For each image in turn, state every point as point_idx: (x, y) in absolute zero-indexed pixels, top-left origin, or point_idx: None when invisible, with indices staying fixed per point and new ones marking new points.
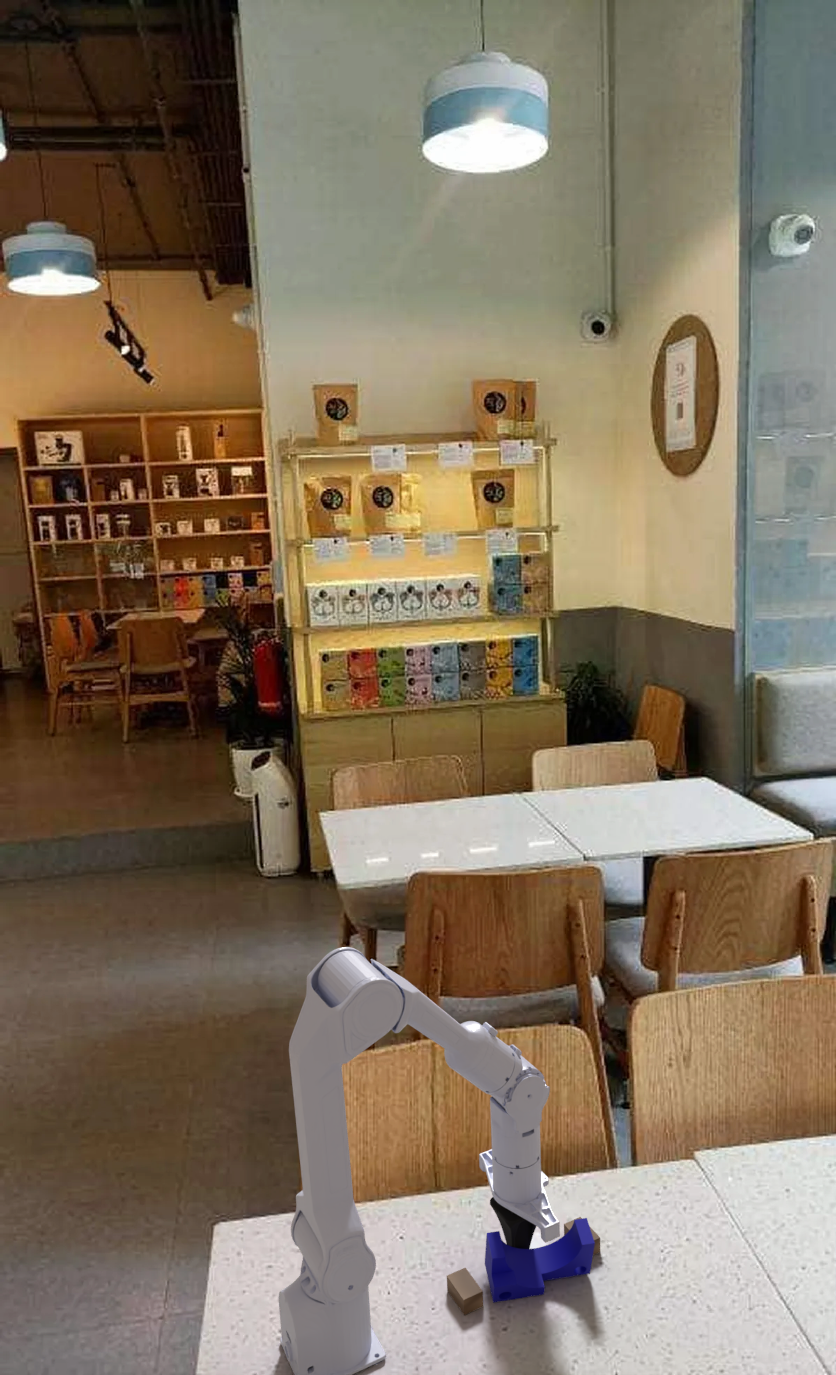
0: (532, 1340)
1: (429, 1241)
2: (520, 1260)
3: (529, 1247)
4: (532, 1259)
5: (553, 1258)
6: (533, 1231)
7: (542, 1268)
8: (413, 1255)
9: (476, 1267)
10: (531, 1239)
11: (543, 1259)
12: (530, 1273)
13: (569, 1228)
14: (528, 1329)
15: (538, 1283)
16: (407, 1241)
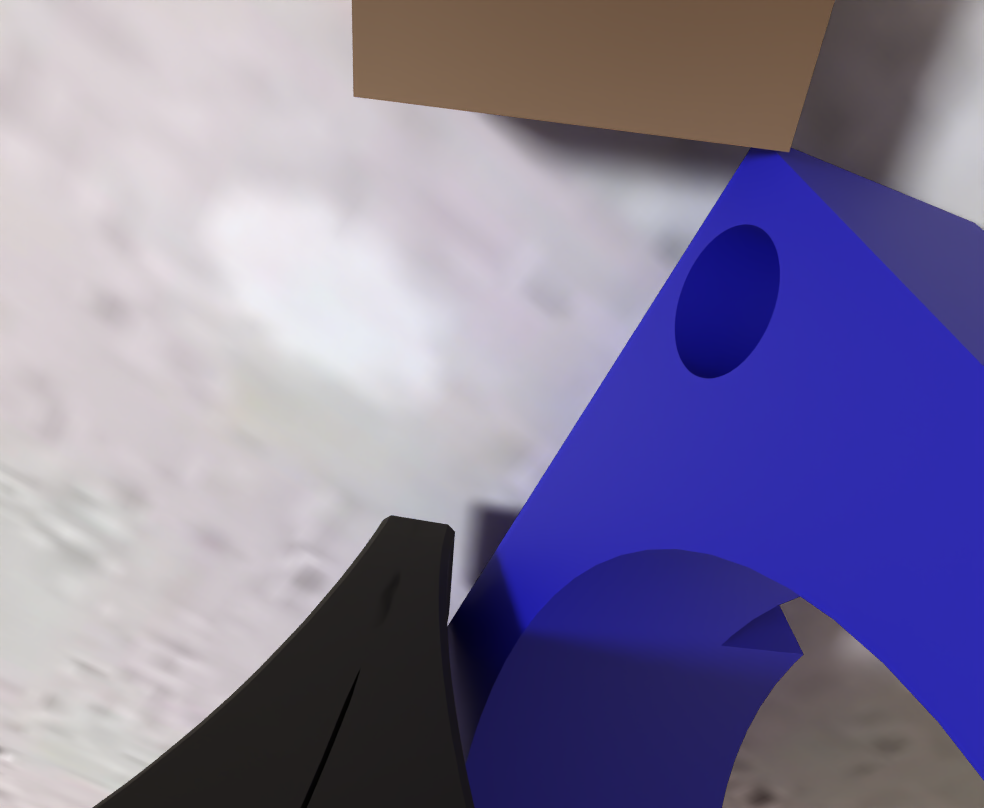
0: (935, 774)
1: (55, 700)
2: (564, 752)
3: (447, 562)
4: (594, 662)
5: (728, 579)
6: (454, 722)
7: (701, 633)
8: (122, 774)
9: None
10: (445, 624)
11: (654, 609)
12: (668, 700)
13: (458, 95)
14: (867, 748)
15: (755, 677)
16: (26, 748)
